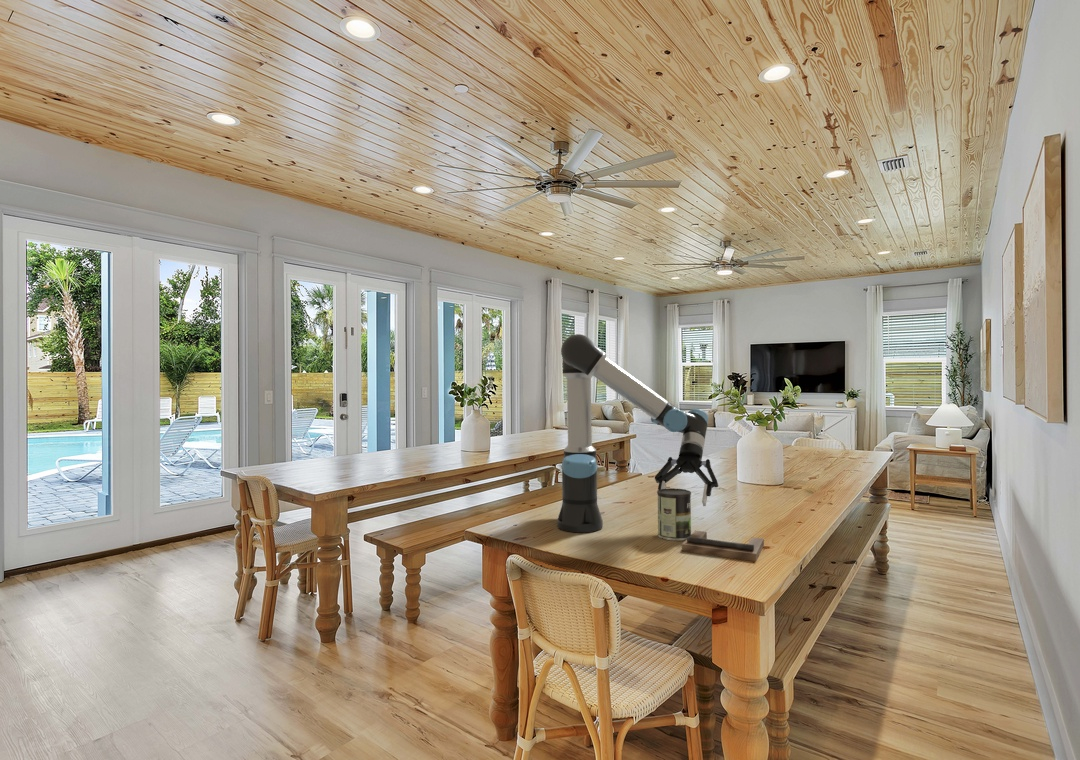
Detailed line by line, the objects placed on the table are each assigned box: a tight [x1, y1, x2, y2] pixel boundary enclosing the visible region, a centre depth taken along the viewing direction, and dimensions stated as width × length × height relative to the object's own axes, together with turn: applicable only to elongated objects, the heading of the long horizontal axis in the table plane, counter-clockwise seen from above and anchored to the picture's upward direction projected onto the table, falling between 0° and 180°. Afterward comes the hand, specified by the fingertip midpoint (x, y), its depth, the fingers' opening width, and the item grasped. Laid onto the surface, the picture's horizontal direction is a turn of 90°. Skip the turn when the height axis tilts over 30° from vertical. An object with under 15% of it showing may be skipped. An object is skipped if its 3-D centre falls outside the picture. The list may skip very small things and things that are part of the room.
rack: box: [681, 530, 765, 562], centre depth 164 cm, size 20×16×4 cm
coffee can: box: [656, 487, 692, 542], centre depth 177 cm, size 10×10×14 cm
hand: (681, 502), depth 179 cm, fingers open, 13 cm apart
